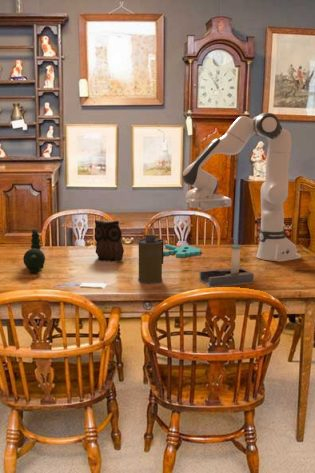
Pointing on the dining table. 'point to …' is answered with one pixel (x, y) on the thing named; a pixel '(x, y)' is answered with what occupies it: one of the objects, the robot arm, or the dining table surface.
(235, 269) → the flanged post
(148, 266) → the canister
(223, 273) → the keyhole track
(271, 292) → the dining table surface
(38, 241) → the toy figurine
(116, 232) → the owl
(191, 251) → the alien figure
